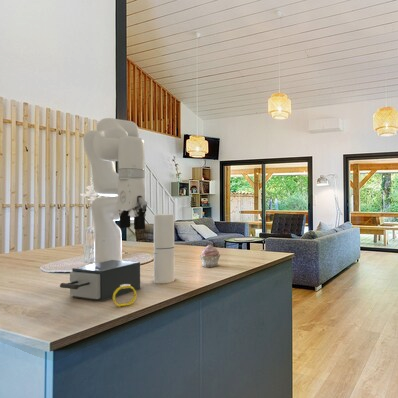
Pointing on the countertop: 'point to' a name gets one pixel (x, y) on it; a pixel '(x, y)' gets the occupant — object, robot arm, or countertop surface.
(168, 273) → the cylindrical container
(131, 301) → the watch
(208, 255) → the cupcake
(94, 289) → the drawer
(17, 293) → the countertop surface
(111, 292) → the cabinet
